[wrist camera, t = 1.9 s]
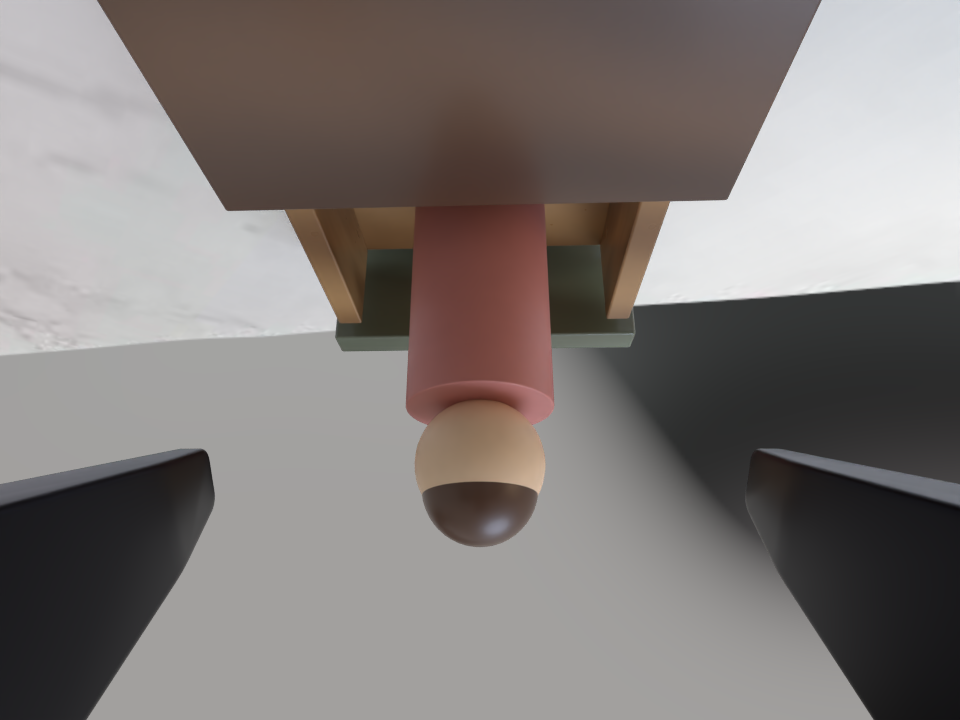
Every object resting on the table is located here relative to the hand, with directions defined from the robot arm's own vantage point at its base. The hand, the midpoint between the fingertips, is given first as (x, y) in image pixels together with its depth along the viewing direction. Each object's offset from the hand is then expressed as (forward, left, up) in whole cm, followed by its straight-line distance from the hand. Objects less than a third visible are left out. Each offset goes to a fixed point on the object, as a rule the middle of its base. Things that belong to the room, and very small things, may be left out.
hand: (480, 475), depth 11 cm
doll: (+4, -5, -11) cm, 13 cm away
